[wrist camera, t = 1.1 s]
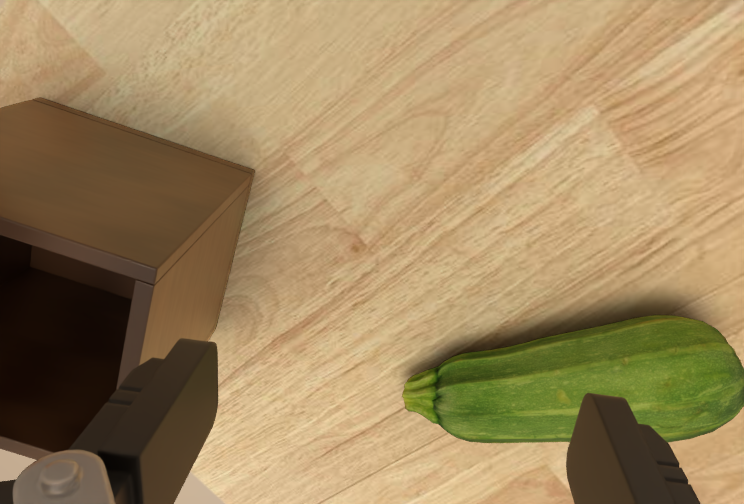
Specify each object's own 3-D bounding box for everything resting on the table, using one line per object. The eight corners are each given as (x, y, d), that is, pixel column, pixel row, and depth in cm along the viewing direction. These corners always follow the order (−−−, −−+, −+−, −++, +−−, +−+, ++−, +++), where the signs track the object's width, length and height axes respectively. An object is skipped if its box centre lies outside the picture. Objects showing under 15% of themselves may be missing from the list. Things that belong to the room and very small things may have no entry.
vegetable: (779, 448, 31) (404, 486, 34) (725, 417, 38) (418, 451, 41) (750, 309, 31) (383, 360, 35) (701, 304, 38) (401, 347, 42)
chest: (255, 170, 36) (157, 268, 23) (215, 329, 41) (116, 485, 28) (39, 96, 36) (-187, 156, 23) (25, 267, 40) (-168, 397, 27)
